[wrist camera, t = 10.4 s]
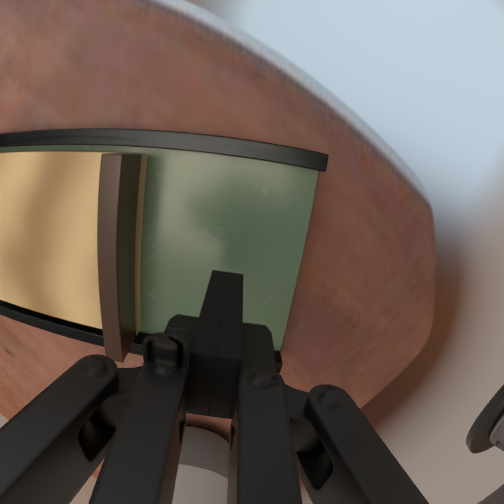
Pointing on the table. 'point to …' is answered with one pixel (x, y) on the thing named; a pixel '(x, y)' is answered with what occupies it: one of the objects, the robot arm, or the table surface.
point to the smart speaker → (202, 468)
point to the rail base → (201, 222)
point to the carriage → (75, 238)
